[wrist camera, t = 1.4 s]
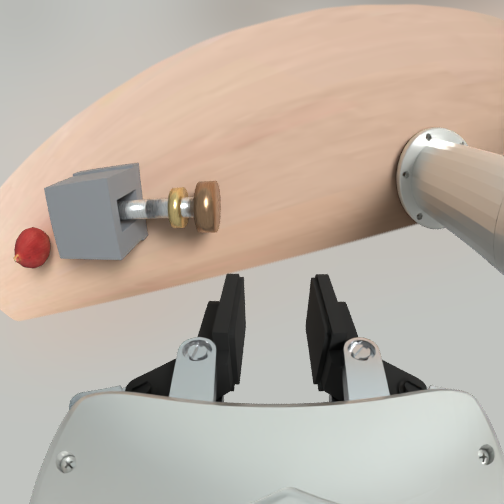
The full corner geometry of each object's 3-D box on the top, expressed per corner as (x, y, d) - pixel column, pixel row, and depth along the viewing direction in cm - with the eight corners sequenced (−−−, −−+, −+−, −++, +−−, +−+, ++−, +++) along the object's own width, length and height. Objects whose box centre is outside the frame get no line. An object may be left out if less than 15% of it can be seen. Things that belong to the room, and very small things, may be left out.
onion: (56, 261, 35) (26, 287, 28) (33, 242, 34) (2, 265, 27) (63, 232, 33) (29, 257, 26) (38, 212, 32) (3, 233, 25)
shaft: (219, 176, 28) (209, 187, 23) (221, 222, 30) (213, 240, 25) (113, 184, 29) (90, 195, 24) (120, 224, 31) (99, 241, 26)
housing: (138, 162, 29) (106, 174, 22) (148, 235, 33) (122, 262, 26) (79, 171, 29) (43, 185, 23) (91, 236, 33) (61, 260, 27)
